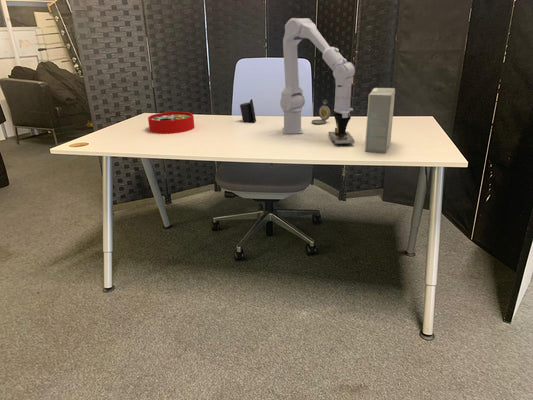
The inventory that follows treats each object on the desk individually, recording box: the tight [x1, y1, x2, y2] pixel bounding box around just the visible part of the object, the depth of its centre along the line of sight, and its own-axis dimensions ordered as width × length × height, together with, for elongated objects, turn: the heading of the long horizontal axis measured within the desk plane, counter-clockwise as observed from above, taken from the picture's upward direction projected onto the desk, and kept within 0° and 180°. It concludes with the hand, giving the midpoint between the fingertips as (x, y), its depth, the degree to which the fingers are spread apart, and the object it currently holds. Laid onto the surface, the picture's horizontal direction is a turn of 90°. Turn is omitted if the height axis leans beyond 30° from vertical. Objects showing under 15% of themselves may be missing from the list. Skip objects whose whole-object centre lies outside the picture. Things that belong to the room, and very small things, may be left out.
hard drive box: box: [364, 87, 396, 154], centre depth 140 cm, size 16×8×20 cm, turn 159°
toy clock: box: [147, 111, 195, 135], centre depth 178 cm, size 20×6×20 cm
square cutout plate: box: [327, 127, 355, 147], centre depth 153 cm, size 18×7×3 cm, turn 179°
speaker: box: [239, 99, 257, 124], centre depth 186 cm, size 8×6×10 cm
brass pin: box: [336, 123, 345, 136], centre depth 151 cm, size 3×3×6 cm
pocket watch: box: [311, 99, 331, 125], centre depth 180 cm, size 8×8×10 cm
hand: (340, 132), depth 152 cm, fingers closed on brass pin, 3 cm apart
